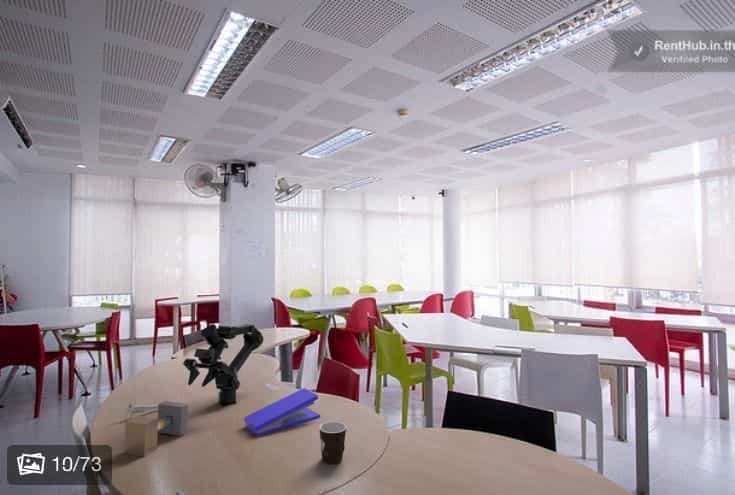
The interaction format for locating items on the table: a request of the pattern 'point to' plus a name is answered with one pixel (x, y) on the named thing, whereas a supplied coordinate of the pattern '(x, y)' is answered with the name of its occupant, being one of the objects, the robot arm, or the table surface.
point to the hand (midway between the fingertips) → (195, 385)
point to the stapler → (283, 413)
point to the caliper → (138, 410)
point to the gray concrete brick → (178, 415)
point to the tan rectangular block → (143, 434)
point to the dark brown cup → (332, 441)
